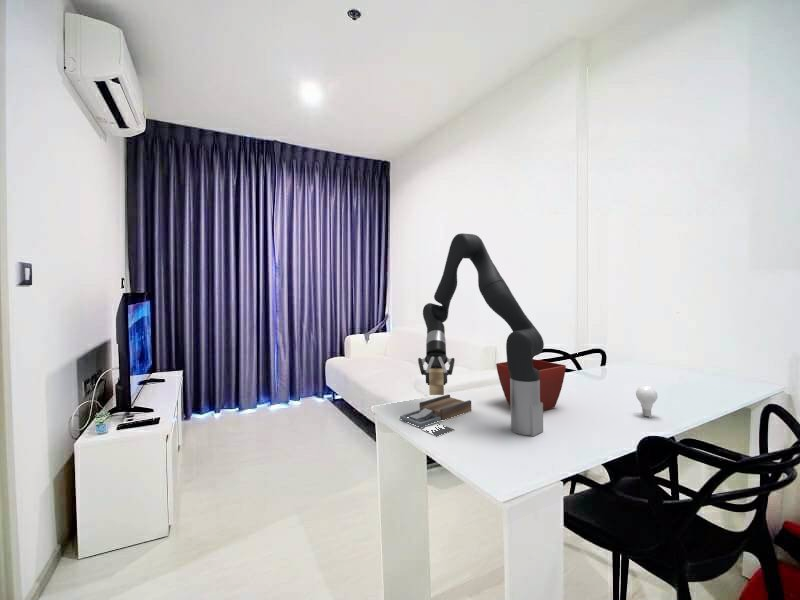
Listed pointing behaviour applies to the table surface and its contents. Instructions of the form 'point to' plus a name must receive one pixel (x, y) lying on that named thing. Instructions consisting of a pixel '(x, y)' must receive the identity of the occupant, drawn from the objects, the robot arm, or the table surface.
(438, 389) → the tall wooden block
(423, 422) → the tray
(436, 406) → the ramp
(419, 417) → the chip
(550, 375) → the plant pot
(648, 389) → the lightbulb
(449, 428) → the mat
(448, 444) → the table surface
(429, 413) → the chip
